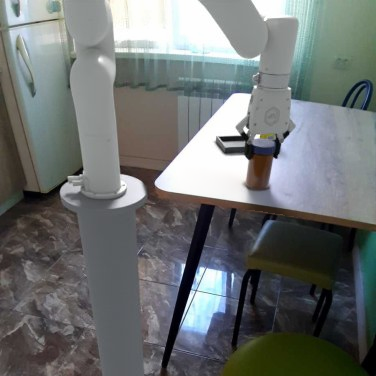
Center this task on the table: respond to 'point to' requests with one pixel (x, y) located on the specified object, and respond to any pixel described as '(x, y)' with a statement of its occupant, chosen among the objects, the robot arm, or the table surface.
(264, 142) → the jar lid
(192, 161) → the table surface
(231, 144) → the slate tray
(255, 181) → the jam jar
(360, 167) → the table surface
